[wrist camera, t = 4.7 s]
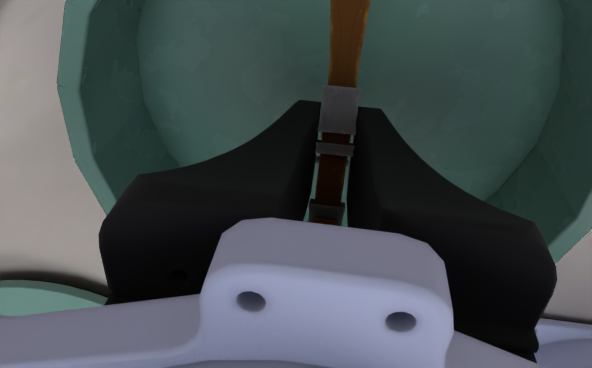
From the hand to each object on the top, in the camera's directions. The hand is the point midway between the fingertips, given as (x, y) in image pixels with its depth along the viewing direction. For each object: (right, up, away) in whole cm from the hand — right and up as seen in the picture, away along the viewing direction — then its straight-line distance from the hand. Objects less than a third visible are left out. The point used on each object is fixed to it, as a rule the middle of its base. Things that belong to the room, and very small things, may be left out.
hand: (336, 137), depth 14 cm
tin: (0, +2, +2) cm, 3 cm away
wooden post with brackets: (+1, +2, +1) cm, 2 cm away
